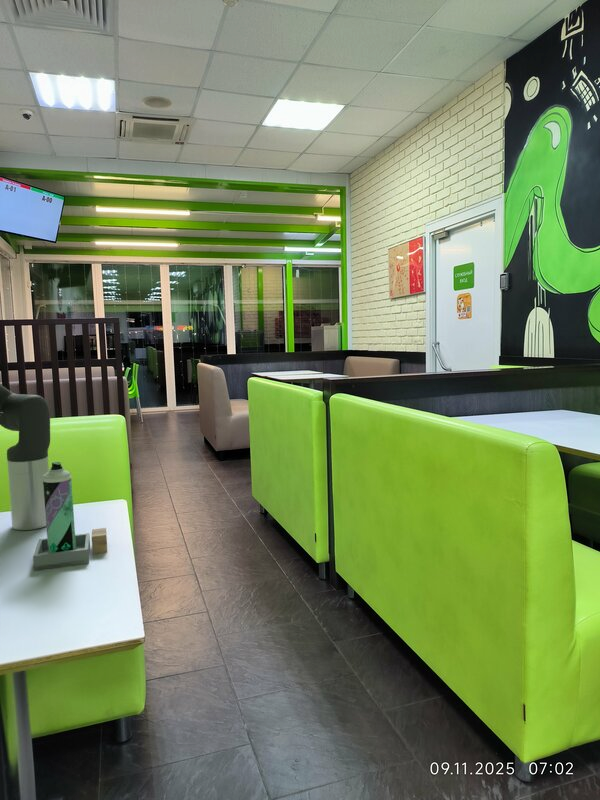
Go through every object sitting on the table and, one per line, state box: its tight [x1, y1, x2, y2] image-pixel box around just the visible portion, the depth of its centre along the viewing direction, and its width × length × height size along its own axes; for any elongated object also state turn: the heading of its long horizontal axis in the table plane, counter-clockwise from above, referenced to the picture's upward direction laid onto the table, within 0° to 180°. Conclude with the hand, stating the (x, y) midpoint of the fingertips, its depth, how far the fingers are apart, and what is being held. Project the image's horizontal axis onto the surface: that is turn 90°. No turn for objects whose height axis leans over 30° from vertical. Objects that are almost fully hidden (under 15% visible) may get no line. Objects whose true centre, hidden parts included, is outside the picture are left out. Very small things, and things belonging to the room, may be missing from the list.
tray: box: [32, 532, 91, 572], centre depth 119 cm, size 10×10×3 cm
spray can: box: [43, 461, 76, 553], centre depth 118 cm, size 6×6×20 cm
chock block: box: [91, 527, 108, 555], centre depth 124 cm, size 5×3×4 cm, turn 19°
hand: (0, 415), depth 108 cm, fingers open, 8 cm apart
